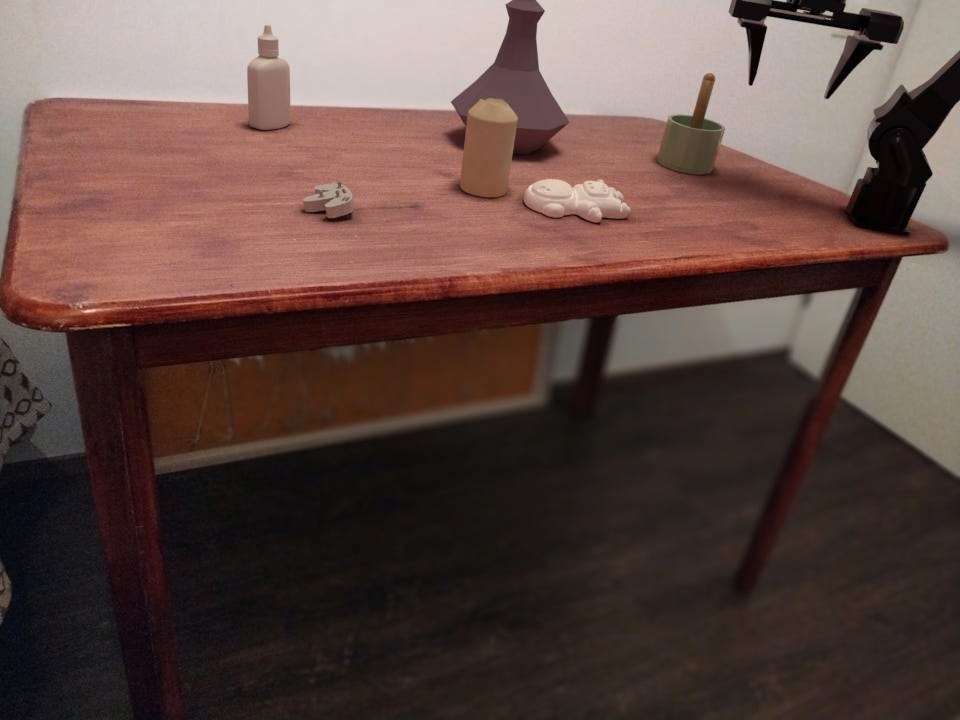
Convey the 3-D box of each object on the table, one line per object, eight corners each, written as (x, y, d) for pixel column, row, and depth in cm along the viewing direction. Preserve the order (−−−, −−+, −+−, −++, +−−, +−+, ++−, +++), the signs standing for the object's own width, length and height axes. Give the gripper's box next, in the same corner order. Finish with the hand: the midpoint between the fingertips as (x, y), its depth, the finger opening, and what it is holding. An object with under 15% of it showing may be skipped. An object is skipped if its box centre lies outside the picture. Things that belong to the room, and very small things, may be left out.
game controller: (292, 204, 74) (292, 179, 73) (385, 189, 81) (387, 166, 80) (323, 224, 71) (323, 198, 69) (417, 207, 78) (419, 183, 77)
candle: (502, 201, 82) (515, 111, 77) (454, 192, 83) (464, 101, 78) (510, 186, 87) (523, 100, 82) (465, 177, 88) (475, 91, 82)
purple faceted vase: (559, 171, 95) (592, 0, 84) (435, 149, 96) (451, -23, 85) (567, 138, 108) (595, -13, 98) (458, 119, 109) (474, -32, 99)
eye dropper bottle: (243, 121, 95) (239, 20, 89) (286, 120, 98) (285, 22, 91) (252, 131, 92) (248, 28, 86) (296, 130, 95) (296, 30, 88)
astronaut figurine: (632, 228, 81) (638, 202, 79) (523, 214, 80) (528, 187, 78) (621, 200, 88) (627, 176, 86) (522, 187, 87) (526, 162, 86)
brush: (699, 160, 105) (724, 73, 99) (700, 168, 102) (727, 78, 96) (671, 155, 106) (695, 68, 100) (671, 163, 103) (696, 73, 96)
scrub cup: (710, 162, 107) (722, 121, 104) (713, 178, 101) (727, 134, 97) (657, 152, 108) (667, 111, 105) (656, 167, 101) (668, 123, 98)
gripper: (903, -43, 88) (851, 92, 96) (745, -67, 90) (708, 67, 98) (931, -38, 79) (871, 110, 87) (755, -65, 81) (713, 83, 89)
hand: (787, 91), depth 91 cm, fingers open, 9 cm apart
